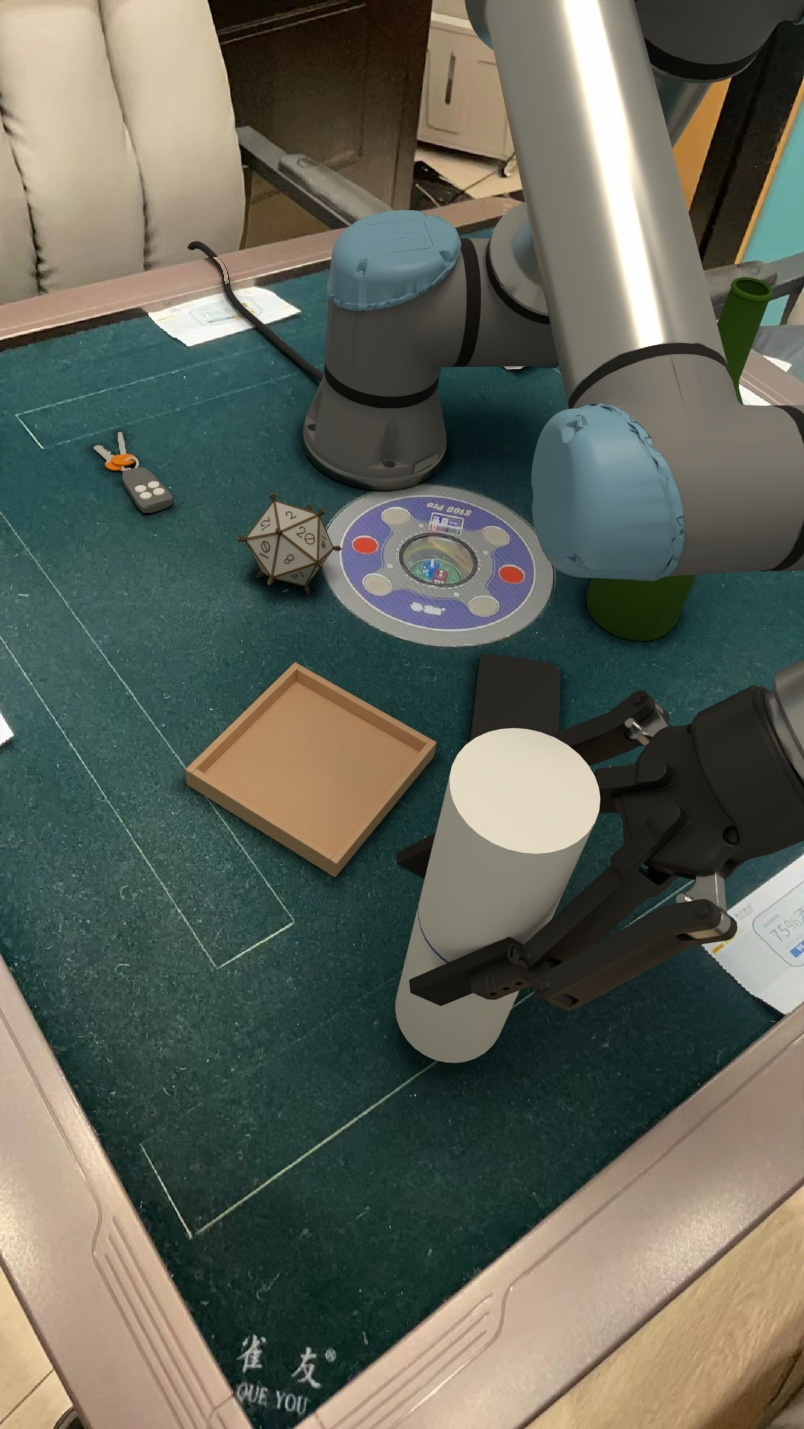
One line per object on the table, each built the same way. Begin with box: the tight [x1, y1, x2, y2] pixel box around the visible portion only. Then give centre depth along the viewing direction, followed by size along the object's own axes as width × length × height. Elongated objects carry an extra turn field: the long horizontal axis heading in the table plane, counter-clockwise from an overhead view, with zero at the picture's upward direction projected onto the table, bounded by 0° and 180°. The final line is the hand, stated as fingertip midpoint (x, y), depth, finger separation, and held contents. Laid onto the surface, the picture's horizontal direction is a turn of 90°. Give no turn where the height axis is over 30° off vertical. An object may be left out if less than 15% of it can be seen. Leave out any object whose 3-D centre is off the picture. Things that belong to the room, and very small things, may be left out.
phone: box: [469, 652, 562, 742], centre depth 89 cm, size 7×1×15 cm
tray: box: [185, 661, 437, 878], centre depth 84 cm, size 14×14×2 cm
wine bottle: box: [586, 276, 773, 642], centre depth 88 cm, size 9×9×32 cm
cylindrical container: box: [395, 728, 600, 1064], centre depth 59 cm, size 7×7×25 cm
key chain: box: [92, 431, 174, 514], centre depth 105 cm, size 13×4×2 cm, turn 34°
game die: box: [235, 491, 343, 596], centre depth 95 cm, size 9×8×10 cm
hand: (418, 927), depth 59 cm, fingers closed on cylindrical container, 7 cm apart
